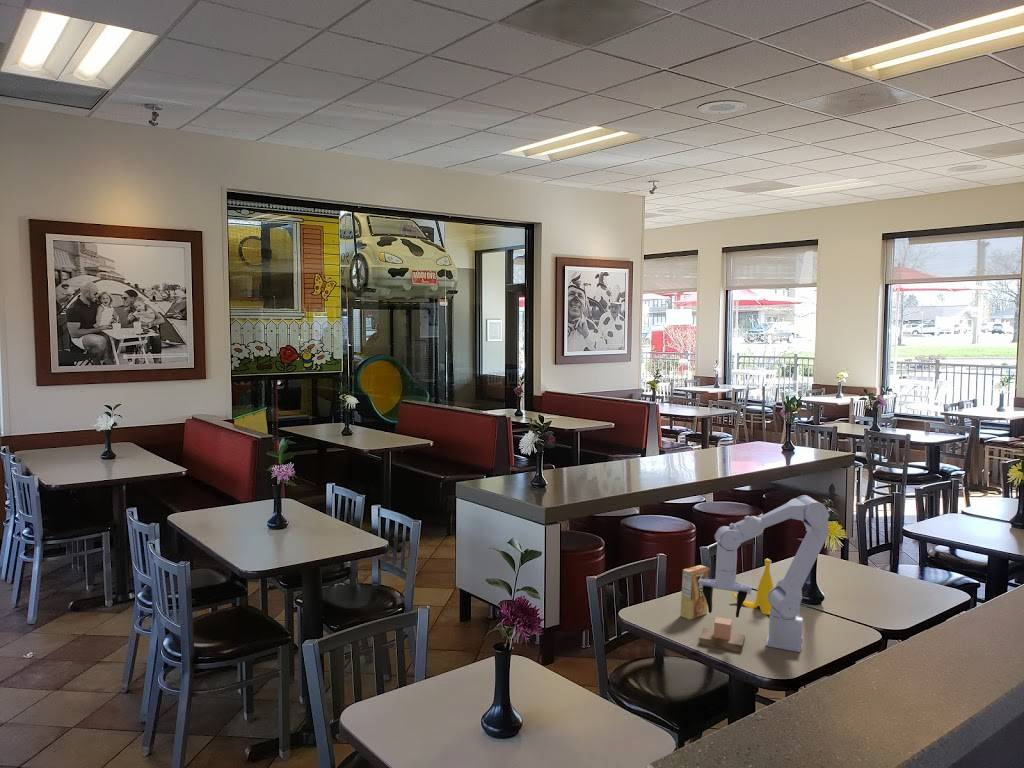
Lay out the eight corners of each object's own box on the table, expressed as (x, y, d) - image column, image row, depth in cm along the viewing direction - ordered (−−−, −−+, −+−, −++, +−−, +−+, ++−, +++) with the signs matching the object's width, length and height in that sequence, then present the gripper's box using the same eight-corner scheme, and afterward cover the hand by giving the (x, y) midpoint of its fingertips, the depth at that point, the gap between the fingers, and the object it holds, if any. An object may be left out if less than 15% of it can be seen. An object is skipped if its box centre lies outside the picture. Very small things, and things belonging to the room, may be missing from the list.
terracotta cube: (731, 634, 226) (732, 619, 226) (729, 640, 222) (730, 625, 222) (715, 631, 228) (716, 617, 228) (713, 637, 224) (714, 622, 224)
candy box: (696, 610, 250) (699, 564, 249) (707, 614, 247) (710, 567, 246) (679, 616, 245) (682, 569, 243) (690, 620, 241) (692, 572, 240)
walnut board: (744, 641, 226) (745, 634, 226) (741, 652, 219) (742, 645, 219) (703, 634, 231) (703, 627, 231) (699, 644, 224) (699, 637, 223)
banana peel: (786, 602, 260) (789, 554, 258) (780, 622, 243) (783, 570, 241) (736, 594, 267) (739, 546, 265) (726, 612, 250) (729, 561, 248)
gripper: (753, 568, 224) (750, 613, 225) (702, 561, 230) (700, 605, 231) (751, 575, 218) (748, 621, 219) (699, 567, 223) (696, 613, 224)
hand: (723, 613), depth 224 cm, fingers open, 7 cm apart
